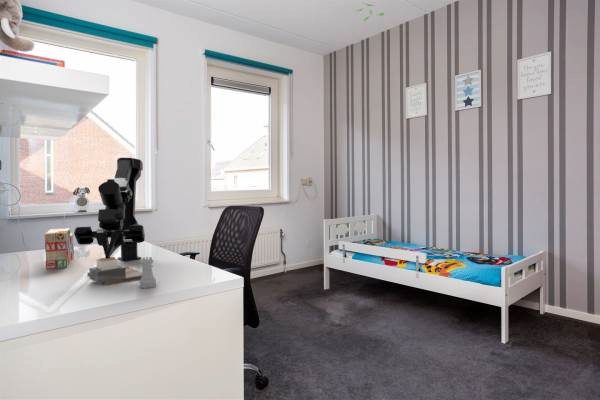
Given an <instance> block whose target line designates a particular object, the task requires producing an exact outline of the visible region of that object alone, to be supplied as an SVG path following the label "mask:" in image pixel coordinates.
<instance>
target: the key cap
mask: <svg viewBox="0 0 600 400" xmlns="http://www.w3.org/2000/svg"><path fill="white" fill-rule="evenodd" d="M95 263H96V267H97V269H98V270H100V271H104V270H110V269H116V268H118V265H119V259H118V258H116V257H115V256H114V257H113V256H110V258H106V257H105V256H104V257H101V258H99V259H96V262H95Z"/></svg>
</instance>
